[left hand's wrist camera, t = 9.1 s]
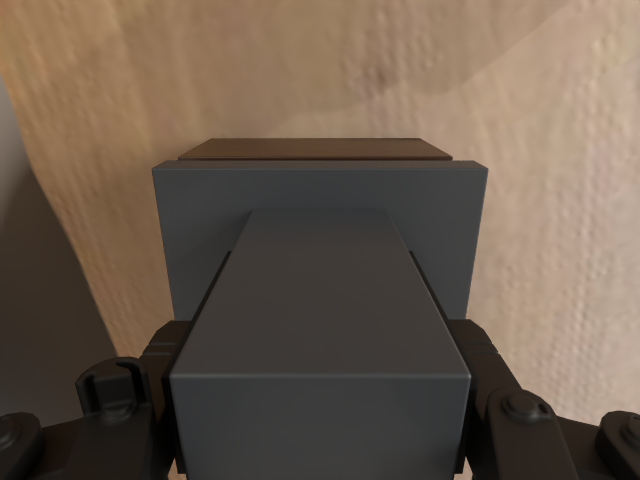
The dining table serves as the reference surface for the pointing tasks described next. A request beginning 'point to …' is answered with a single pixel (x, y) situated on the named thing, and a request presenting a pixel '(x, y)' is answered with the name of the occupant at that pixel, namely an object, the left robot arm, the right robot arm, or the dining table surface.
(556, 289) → the dining table surface
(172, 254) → the lid
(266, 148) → the box
